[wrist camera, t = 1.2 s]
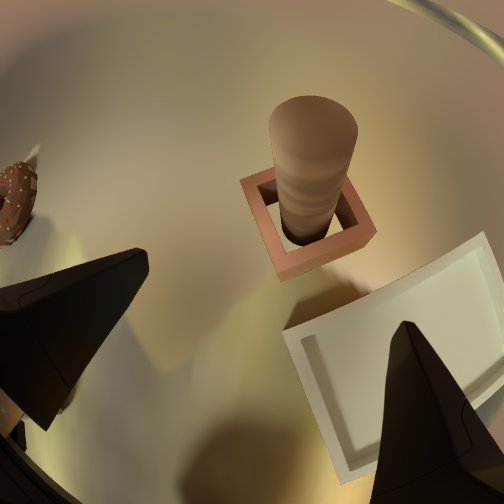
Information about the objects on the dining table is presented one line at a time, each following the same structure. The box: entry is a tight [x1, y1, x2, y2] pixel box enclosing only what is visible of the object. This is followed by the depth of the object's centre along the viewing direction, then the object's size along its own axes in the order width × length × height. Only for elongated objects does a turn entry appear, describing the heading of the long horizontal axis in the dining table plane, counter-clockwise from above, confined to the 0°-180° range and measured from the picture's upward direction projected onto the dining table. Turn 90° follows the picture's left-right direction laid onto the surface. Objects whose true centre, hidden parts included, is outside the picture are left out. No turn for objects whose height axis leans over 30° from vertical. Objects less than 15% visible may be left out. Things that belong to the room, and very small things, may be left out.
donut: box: [0, 161, 37, 248], centre depth 28 cm, size 14×14×5 cm
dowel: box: [269, 96, 358, 246], centre depth 17 cm, size 4×4×12 cm
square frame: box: [240, 167, 377, 282], centre depth 21 cm, size 8×8×4 cm
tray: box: [282, 231, 504, 485], centre depth 17 cm, size 20×14×2 cm
